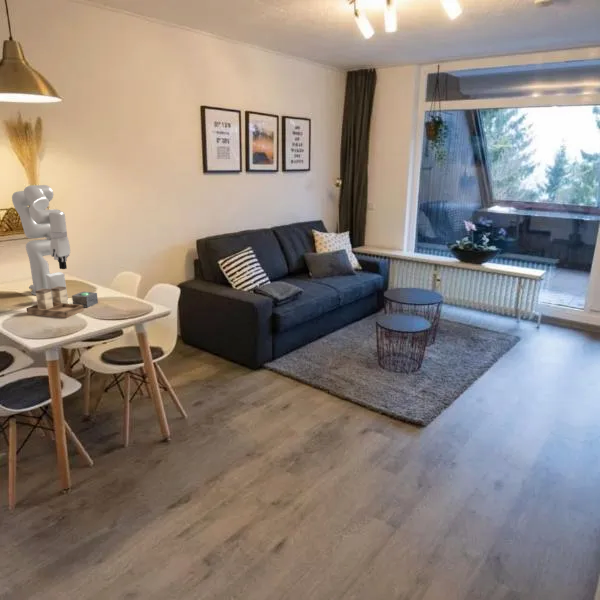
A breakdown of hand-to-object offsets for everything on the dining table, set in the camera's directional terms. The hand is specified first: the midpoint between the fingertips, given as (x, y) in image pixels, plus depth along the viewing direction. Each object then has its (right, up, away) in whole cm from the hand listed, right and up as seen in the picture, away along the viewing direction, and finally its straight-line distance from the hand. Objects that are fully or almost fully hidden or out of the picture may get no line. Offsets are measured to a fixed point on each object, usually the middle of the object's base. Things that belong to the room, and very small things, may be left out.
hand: (63, 268), depth 260 cm
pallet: (-1, -23, -7) cm, 24 cm away
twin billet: (-6, -21, -6) cm, 23 cm away
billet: (-4, -20, +5) cm, 21 cm away
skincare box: (-10, -17, +14) cm, 24 cm away
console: (+9, -20, +7) cm, 23 cm away
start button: (+9, -18, +6) cm, 21 cm away
